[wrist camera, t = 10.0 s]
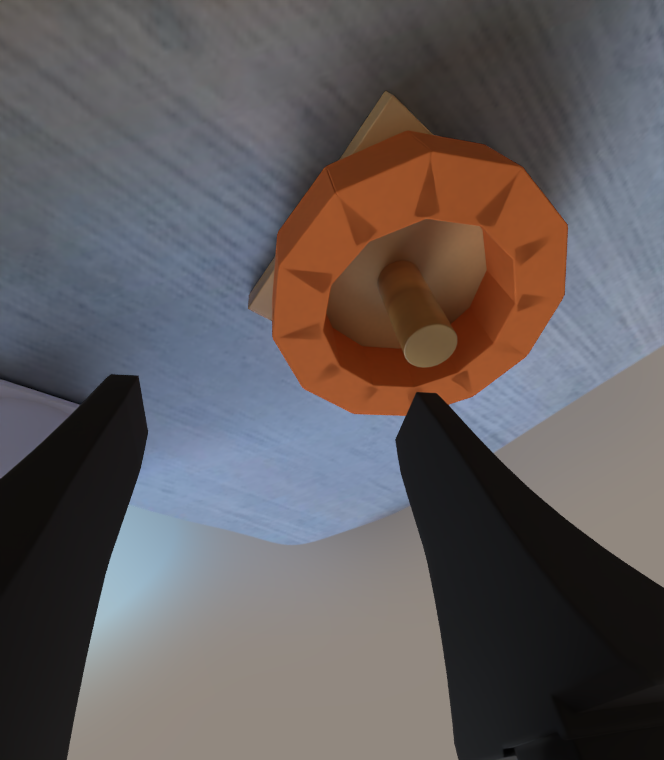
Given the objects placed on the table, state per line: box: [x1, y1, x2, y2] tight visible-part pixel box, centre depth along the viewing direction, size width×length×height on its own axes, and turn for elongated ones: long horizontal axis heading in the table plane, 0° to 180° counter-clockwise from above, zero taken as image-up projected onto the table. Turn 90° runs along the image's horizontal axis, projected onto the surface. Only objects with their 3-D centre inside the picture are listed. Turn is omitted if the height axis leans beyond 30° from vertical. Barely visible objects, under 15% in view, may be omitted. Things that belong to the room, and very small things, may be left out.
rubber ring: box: [272, 131, 568, 416], centre depth 17 cm, size 12×12×3 cm
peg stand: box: [248, 91, 487, 367], centre depth 17 cm, size 10×10×6 cm
